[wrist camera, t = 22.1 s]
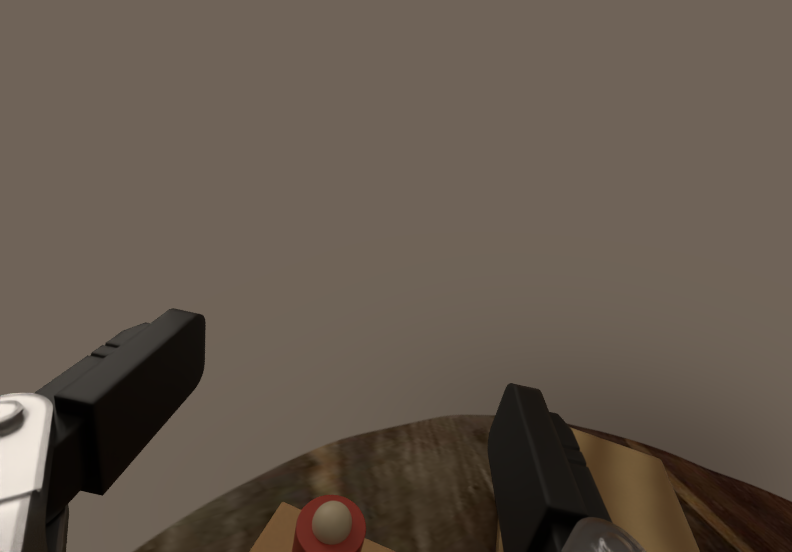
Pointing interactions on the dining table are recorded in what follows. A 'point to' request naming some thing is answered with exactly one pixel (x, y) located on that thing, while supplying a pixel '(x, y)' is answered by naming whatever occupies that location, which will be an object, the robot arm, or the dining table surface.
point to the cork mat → (292, 533)
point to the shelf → (635, 495)
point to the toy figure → (329, 526)
